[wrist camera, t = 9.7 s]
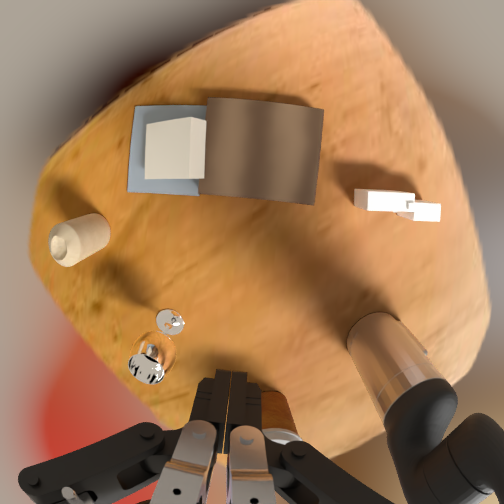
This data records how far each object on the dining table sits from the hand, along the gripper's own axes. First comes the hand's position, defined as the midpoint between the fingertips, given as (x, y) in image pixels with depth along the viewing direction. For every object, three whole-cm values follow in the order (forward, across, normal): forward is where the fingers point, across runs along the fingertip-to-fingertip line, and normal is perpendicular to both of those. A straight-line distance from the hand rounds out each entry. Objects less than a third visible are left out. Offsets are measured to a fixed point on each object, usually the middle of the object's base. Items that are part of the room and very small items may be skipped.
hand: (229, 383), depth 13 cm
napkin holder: (+27, -20, -9) cm, 35 cm away
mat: (+26, +12, -12) cm, 32 cm away
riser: (+26, 0, -13) cm, 29 cm away
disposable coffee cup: (+27, -7, +27) cm, 39 cm away
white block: (+24, +9, -12) cm, 29 cm away
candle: (+26, +22, 0) cm, 35 cm away
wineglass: (+27, +10, +12) cm, 31 cm away
